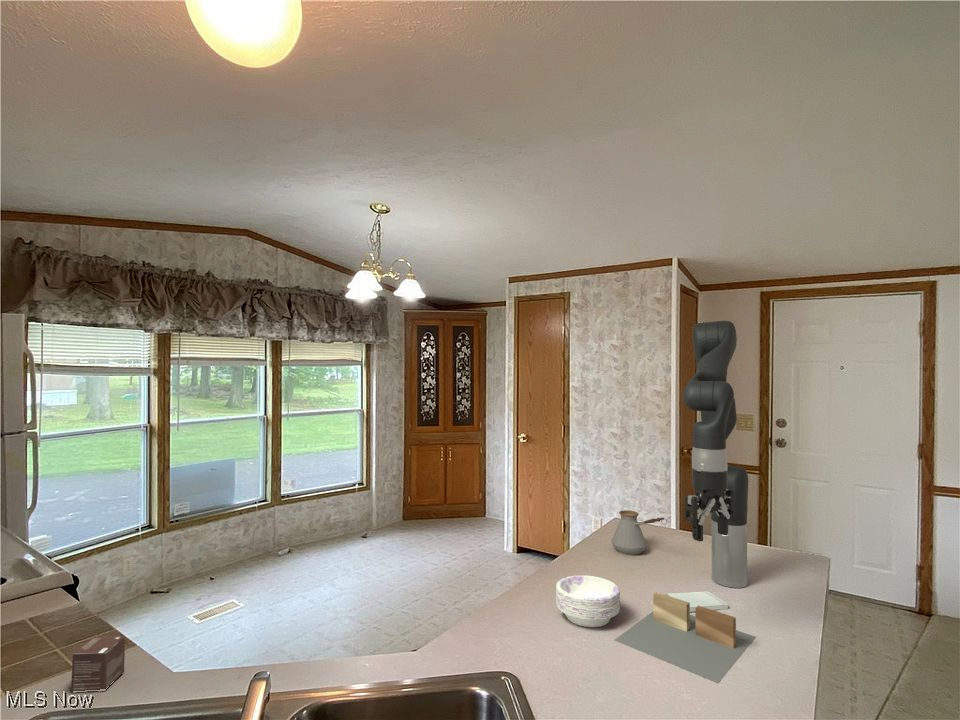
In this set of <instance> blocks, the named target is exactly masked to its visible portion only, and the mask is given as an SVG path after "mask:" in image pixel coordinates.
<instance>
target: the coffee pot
mask: <svg viewBox="0 0 960 720" xmlns="http://www.w3.org/2000/svg"><path fill="white" fill-rule="evenodd" d="M618 514H619V515H620V520H619V522H618V524H617V526H616V529H615V532H614V534H613V537H612V538H611V540H610V541H611V544H612V546H613V548H614V549H615V550H617V552H618V553H620V554H622V555H626V556H627V555H628V556H637V555H640V554H642V552H644V551H645V550H646V547H647V546H648V545H647V540H646V539H645V536H644V534H643V531H642V529H641V527H640V526H641V525H644V524H645V525H646V524H653V523H656V522H661V524H663V525H664V523H663V521H664V520H665V521H666V522H665V525H666V524H668V521H667V519H666V517H657V518H649V519H647V520H644V521H638V516H639V515H640V514H639V512H637V511H635V510H628V509H627V510H620V511H618Z"/></svg>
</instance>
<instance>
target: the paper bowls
mask: <svg viewBox="0 0 960 720" xmlns="http://www.w3.org/2000/svg"><path fill="white" fill-rule="evenodd" d="M620 599H621V591H620V588H619V586H618V585H617V584H615V583H614V582H613V581H611V580H608V579H606V578H603V577H600V576H596V575H595V576H593V575H586V574H585V575H583V574H582V575H581V574H580V575H579V574H576V575H570V576H567V577H563V578H560V579H559V580H558V581H557V583H556V585H555V606H556V608H558V610H559V611H560V612H562V613H563V614H564V615H565V617H566V619H568V621H570V623H573V624H574V625H577V626H581V627H584V628H585V627H586V628H600V627H603V626H606V625H607V624H608V623H609V622H610V620H611V618H614V617H616V616H617V615H618V614H619V613H620V611H621V606H620V605H621V602H620V601H621V600H620Z"/></svg>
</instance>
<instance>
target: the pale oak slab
mask: <svg viewBox="0 0 960 720" xmlns="http://www.w3.org/2000/svg"><path fill="white" fill-rule="evenodd" d="M652 595H653V596H652V597H653V599H652V600H653V601H652V603H653V605H652V609H653V610H652V612H653V620H656V621H659V622H661V623H664V624H667V625H670V626H672V627H675V628H678V629H681V630H683V631H686V632H687V631H688V630H689V629H690V615H691V612H690V603H689V602H686V601H683V600H680V599H677V598H674V597H670V596H667V595H666V594H664V593H661V592H658V591H656V592H655V593H653V594H652Z"/></svg>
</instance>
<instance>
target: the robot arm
mask: <svg viewBox="0 0 960 720" xmlns="http://www.w3.org/2000/svg"><path fill="white" fill-rule="evenodd" d="M691 333H692V344H693V345H692V346H693V350H694V358H695V363H696V364H695V366H696V371H695V373H694V375H693V376H692V377H691V378H690V380H688V381H687V383H686V385H685V387H684V390H683V393H682V394H683V402H684V404H685V406H686V407H687V408H688V409H689V410H691V411H694V412H700V418H701V419H700V421H696V422H694V423H693V425H692V452H691V484H692V486H693V487H694V488H695V494H694V495H690V494H686V495H685V496H684V521H686V522H689V523H691V526H692V527H691V534H692V535H691V536H692V539H693V540H694V541H696V542H703V541H704V525H703V523H704V521H705V518H708V516H709V515H711V516H710V517H711V520H710V521H711V523H710V525H711V528H710V529H711V530H710V531H711V533H710V534H711V580H712V581H713V582H714V583H716V584H718V585H720V586H724V587H728V588H735V589H736V588H739V589H742V588H745V587H747V586H748V527H747V526H748V521H747V520H748V502H749V501H748V500H749V499H748V498H749V475H748V472H747V470H746V468H744V467H742V466H737V465H731V464H730V465H729V464H728V455H727V442H726V441H727V440H728V438H729V437H730V435H731V434H732V432H733V430H735V429H734V428H735V427H736V424H737V422H738V421H737V418H738V417H737V407H736V399H735V391H734V389H733V387H732V385H731V384H730V383H729V382H728V381H727V377H728V368H729V365H730V363H731V360H732V359H733V356H734V354H735V351H736V348H737V330H736V327H735V324H734V323H733V322H732V321H730V320H717V321H709V322H708V321H707V322H706V321H705V322H698V323H695V324H694V325H693V327H692V332H691ZM698 516H699V517H698Z"/></svg>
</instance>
